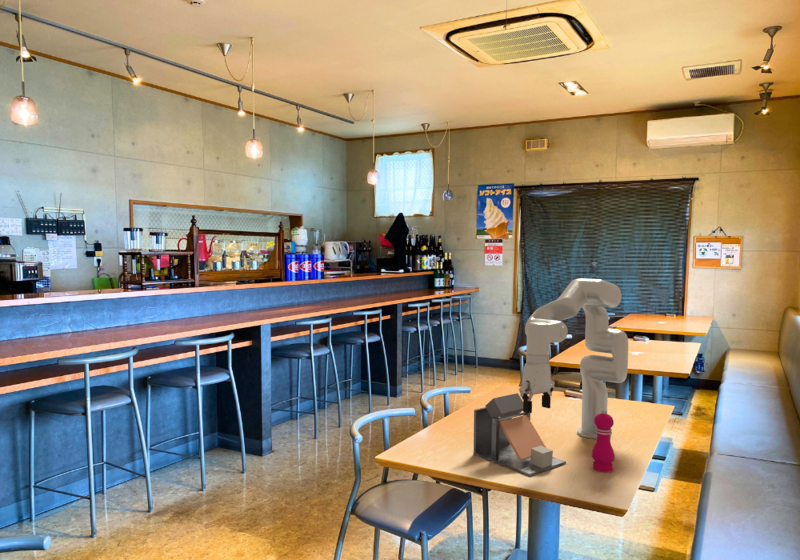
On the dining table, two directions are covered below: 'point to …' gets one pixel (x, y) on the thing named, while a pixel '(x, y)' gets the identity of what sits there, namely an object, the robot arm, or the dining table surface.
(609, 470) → the pepper mill
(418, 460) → the dining table surface
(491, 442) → the frame
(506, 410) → the trapdoor
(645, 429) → the dining table surface
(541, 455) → the light grey cube
